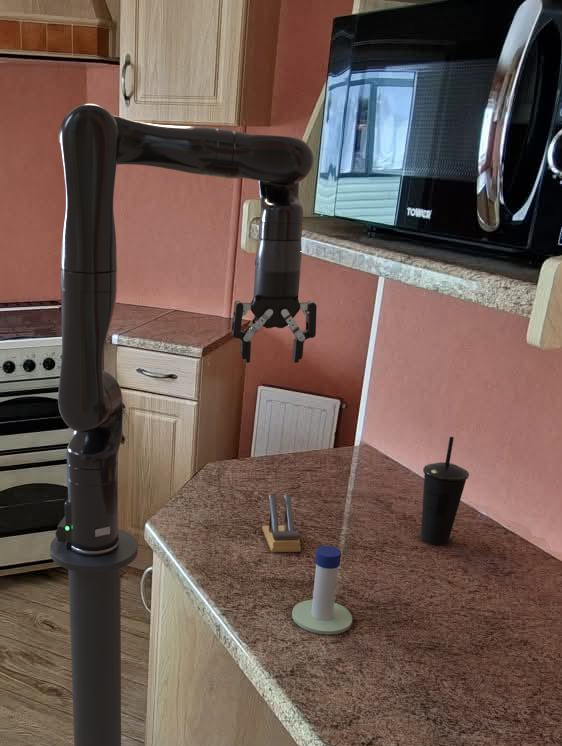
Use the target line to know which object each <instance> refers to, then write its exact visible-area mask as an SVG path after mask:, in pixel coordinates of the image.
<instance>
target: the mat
mask: <svg viewBox="0 0 562 746" xmlns="http://www.w3.org/2000/svg"><path fill="white" fill-rule="evenodd" d="M312 601H313V599H307V600H302V601H300V602H298V603H296V604H295V605H294V607H293V608H292V611H291V618H292V620H293V621H294V623H295V624H296V625H297V626H299V627H300V628H302V629H303V630H305V631H308V632H311V633H314V634H319V635H338V634H342V633H344V632H346V631H348V630H349V629H350V628H351V626H352V625H353V616H352V615H353V614H352V613H351V612H350V611H349V610H348V608H346V607H345V606H343V605H341V604H339V603H337V602H334V608H333V616H332V618H331V619H329V620H319V619H316V618H314V617H313V616H312V614H311V611H312Z"/></svg>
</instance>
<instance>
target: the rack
mask: <svg viewBox="0 0 562 746" xmlns="http://www.w3.org/2000/svg"><path fill="white" fill-rule="evenodd" d="M268 503H269V523H268V525H262V528H261V529H262V532H263V535H264V537H265V540H266V542H267V544H268V547H269V549H270V552H271V553H295V552H296V553H301V550H302V547H301V541H300V539H299V538H300V532H299V530H295V526H294V517H293V507H292V497H291V494H289V493H287V494H286V493H285V494H284V495H283V503H284V523H283V524H282V525H279V520H278V509H277V498H276V495H275V494H269V495H268Z"/></svg>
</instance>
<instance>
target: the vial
mask: <svg viewBox="0 0 562 746" xmlns="http://www.w3.org/2000/svg"><path fill="white" fill-rule="evenodd" d="M314 559H315V561H314V562H315V573H314V582H313V584H314V585H313V592H312V600H313V601H312V611H311V614H312V616H313V617H314V618H316V619H319V620H329V619H331V618H332V616H333V608H334V603H335V599H336V598H335V597H336V590H337V583H338V582H337V581H338V573H339V567H340V566H341V559H342V551H341V549H339V548H338V547H336V546H333V545H321V546H318V547H316V550H315V558H314Z"/></svg>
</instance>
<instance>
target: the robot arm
mask: <svg viewBox="0 0 562 746" xmlns="http://www.w3.org/2000/svg"><path fill="white" fill-rule="evenodd" d="M58 144H59V147H60V150H61V157H62V163H63V164H62V165H63V174H64V184H65V185H64V186H65V213H64V214H65V216H64V221H63V229H62V237H61V247H60V248H61V249H60V263H59V265H60V266H59V267H60V299H61V300H60V302H61V304H60V305H61V358H60V359H61V361H60V371H59V381H58V382H59V383H58V393H57V405H58V406H57V407H58V411H59V414H60V417H61V419H62V420H63V422H64V423H65V424H66V426H67V427H68V428H70V430H72V431H73V432H72V434H71V437H70V439H69V442H68V444H67V447H66V472H67V473H66V475H67V477H66V478H67V480H66V481H67V500H66V501H65V502H64V516H63V518H62V519H61V521H60V522H59V523H58V525H57V526H56V530H55V537H57V538H58V542H66V550H71V551H73V552H74V553H76V554H79V555H82V556H90V557H96V556H104V555H107V554H110V553H112V552H114V551H115V550H117V548H118V547H119V534H118V529H119V450H120V447H121V443H122V439H123V417H124V416H123V414H124V413H123V411H124V407H123V405H124V403H123V401H124V400H123V393H122V389H121V385H120V384H119V382H118V381H117V379H116V378H115V377H114V376H113V375H112V374H111V373H109V372H108V371H106V370H104V365H103V364H104V350H105V345H106V341H107V337H108V334H109V330H110V327H111V324H112V320H113V316H114V312H115V309H116V308H115V307H116V301H117V294H118V248H117V247H118V245H117V234H116V221H115V210H114V198H115V183H116V176H117V175H116V173H117V166H119V165H133V166H134V165H136V166H146V167H154V168H161V169H166V170H171V171H177V172H181V173H187V174H191V175H199V176H204V177H205V176H206V177H213V178H214V177H215V178H223V179H225V178H226V179H248V180H252V181H258V191H259V192H258V193H259V204H260V214H259V223H258V239H257V240H258V241H257V246H256V252H255V259H254V281H253V282H254V283H253V297H252V300H251V302H242V301H240V300H235V301H234V303H233V312H232V319H231V329H230V333H231V335H232V336H233V338H235V339H239V340H240V342H241V343H240V357H241V359H242V360H243V362H244V363H246V364H249V363H251V350H252V341H251V339H252V338H253V337H254V336H255V334H256V333H258V332H259V331H260V330H261V328H265V329H273V328H278V329H284V328H285V327H288V329H289V330H290V331H291V332H292V334H293V336H294V339H293V340H292V341H293V342H292V353H291V354H292V355H291V361H292V362H293V363H298V364H299V361H300V360H302V358H303V355H304V346H305V345H304V343H305V341H306V340H308V339H314V338H315V337H316V335H317V304H316V303H315V302H314V301H312V300H307V301H306V302H300V300H299V293H300V280H301V267H302V257H303V249H302V236H303V223H304V208H303V205H302V204H301V202H300V198H299V197H300V196H299V193H300V183H301V182H302V181H303V180H305V179H306V178H307V177H308V176H309V174H310V173H311V171H312V169H313V164H314V156H313V155H314V154H313V151H312V149H311V147H310V146H309V145H308V144H307V142H305V141H304V140H303V139H301V138H299V137H295V136H285V135H274V134H273V135H272V134H252V133H248V132H243V131H239V130H232V129H225V128H217V127H207V126H199V125H198V126H197V125H195V126H194V125H170V124H155V123H148V122H143V121H136V120H132V119H129V118H125V117H121V116H119V115H118V116H117V115H114V114H112V113H111V112H110V111H109V110H108V109H106V108H104V107H103V106H101V105H99V104H96V103H83V104H81V105H77V106H75V107H74V108H72V109H71V110H70V111H68V112H67V114H66V115H65V116H64V117H63V119H62V121H61V123H60V126H59V130H58ZM300 251H302V252H300ZM248 311H251V313H252V314H253V318H252V319H251V320H250V322H249V323H248V325H247V327H246V328H245V329H244V330H242V322H243V316H246V315H247V314H248ZM300 311H301V312H302V314H303V315H304V316H305V329H304V330H301V329H300V326H299V325H298V324H297V322H296V321H295V319H294V318H295V317H296V315H298V313H299V312H300Z"/></svg>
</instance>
